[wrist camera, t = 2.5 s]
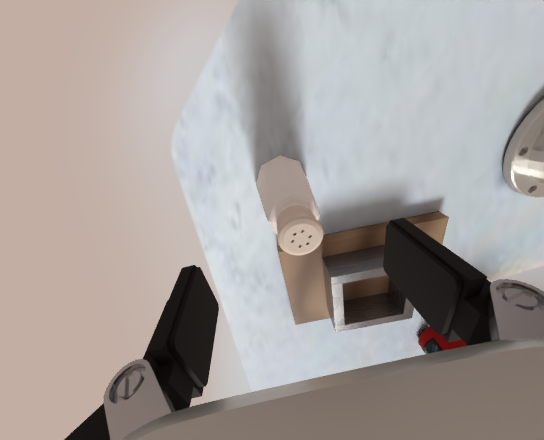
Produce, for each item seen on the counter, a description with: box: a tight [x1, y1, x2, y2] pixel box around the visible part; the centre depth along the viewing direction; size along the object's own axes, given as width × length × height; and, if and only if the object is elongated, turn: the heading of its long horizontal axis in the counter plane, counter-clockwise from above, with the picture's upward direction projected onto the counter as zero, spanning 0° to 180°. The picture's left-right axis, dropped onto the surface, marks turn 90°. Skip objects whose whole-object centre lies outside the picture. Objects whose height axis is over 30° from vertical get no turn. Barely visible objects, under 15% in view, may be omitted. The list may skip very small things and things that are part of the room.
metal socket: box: [322, 244, 414, 332], centre depth 26 cm, size 10×10×4 cm
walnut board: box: [277, 211, 449, 325], centre depth 28 cm, size 20×14×2 cm
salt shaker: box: [256, 155, 323, 255], centre depth 17 cm, size 5×5×11 cm
